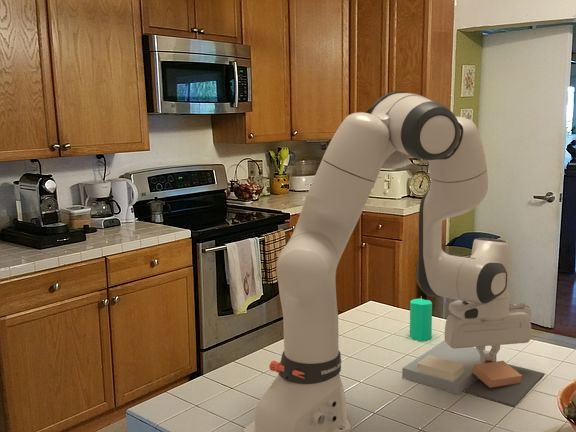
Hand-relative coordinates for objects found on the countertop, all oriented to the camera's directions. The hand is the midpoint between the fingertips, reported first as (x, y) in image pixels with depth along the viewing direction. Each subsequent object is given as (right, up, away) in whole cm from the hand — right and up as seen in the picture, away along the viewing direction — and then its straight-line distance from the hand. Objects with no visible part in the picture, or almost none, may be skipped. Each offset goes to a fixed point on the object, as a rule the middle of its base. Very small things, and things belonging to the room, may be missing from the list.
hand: (487, 362), depth 135 cm
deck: (-8, -3, +4) cm, 9 cm away
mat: (+3, -4, -3) cm, 6 cm away
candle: (-10, 0, +26) cm, 28 cm away
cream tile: (-12, -2, -2) cm, 12 cm away
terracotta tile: (+1, -3, -4) cm, 4 cm away
